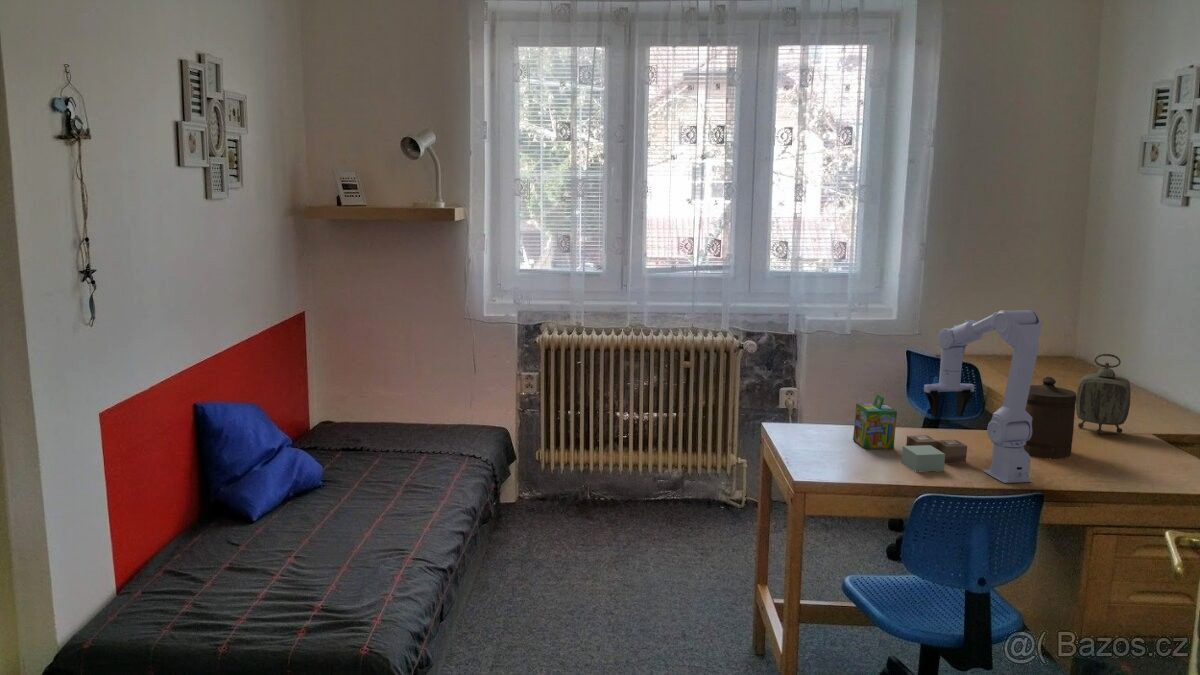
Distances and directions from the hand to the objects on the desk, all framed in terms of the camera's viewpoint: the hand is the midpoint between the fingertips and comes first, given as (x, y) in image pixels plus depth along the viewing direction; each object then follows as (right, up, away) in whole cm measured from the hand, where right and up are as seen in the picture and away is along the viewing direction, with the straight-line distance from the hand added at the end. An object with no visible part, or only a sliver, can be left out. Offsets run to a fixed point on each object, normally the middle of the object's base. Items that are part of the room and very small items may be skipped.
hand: (946, 415), depth 256 cm
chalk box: (-20, -9, +5) cm, 22 cm away
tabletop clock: (+56, -7, +21) cm, 60 cm away
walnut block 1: (-9, -11, -4) cm, 15 cm away
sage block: (-12, -13, -15) cm, 23 cm away
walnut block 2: (-2, -12, -8) cm, 15 cm away
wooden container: (+28, -11, 0) cm, 30 cm away
